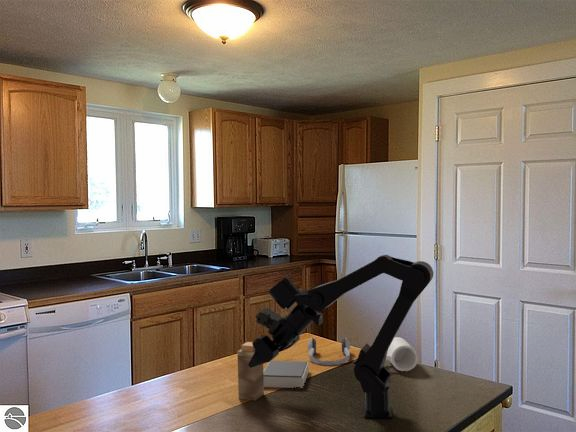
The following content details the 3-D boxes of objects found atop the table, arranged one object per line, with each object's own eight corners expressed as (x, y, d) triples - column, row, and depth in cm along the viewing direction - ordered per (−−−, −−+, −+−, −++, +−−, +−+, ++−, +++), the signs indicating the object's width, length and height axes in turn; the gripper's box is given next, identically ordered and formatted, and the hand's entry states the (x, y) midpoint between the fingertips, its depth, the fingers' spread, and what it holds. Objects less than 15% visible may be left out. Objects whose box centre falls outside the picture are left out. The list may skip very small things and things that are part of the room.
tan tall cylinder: (263, 393, 136) (262, 347, 136) (255, 400, 131) (254, 353, 131) (247, 391, 138) (246, 346, 137) (238, 398, 133) (237, 351, 133)
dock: (302, 388, 139) (302, 376, 139) (260, 386, 141) (260, 375, 141) (308, 371, 153) (308, 361, 153) (269, 370, 155) (269, 360, 155)
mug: (409, 361, 161) (408, 336, 161) (418, 371, 151) (417, 345, 151) (372, 362, 161) (371, 337, 161) (378, 372, 151) (378, 346, 151)
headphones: (308, 345, 179) (306, 372, 160) (307, 329, 178) (306, 355, 159) (357, 344, 178) (361, 372, 159) (356, 329, 177) (361, 355, 158)
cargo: (258, 348, 135) (258, 342, 135) (253, 351, 132) (252, 346, 132) (247, 347, 136) (247, 341, 136) (241, 350, 133) (241, 345, 133)
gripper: (288, 293, 140) (253, 329, 144) (259, 306, 122) (220, 346, 127) (315, 323, 137) (279, 359, 141) (289, 341, 120) (248, 381, 124)
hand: (257, 360), depth 133 cm, fingers open, 9 cm apart
